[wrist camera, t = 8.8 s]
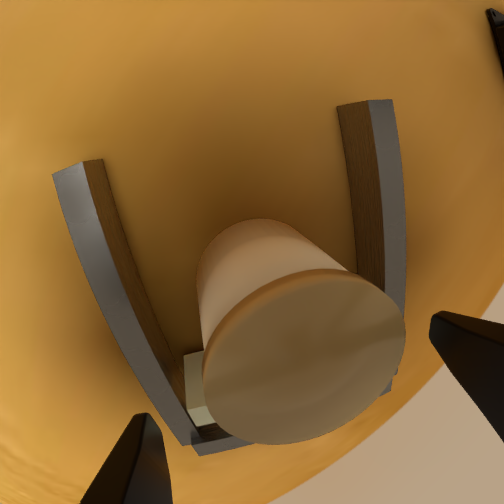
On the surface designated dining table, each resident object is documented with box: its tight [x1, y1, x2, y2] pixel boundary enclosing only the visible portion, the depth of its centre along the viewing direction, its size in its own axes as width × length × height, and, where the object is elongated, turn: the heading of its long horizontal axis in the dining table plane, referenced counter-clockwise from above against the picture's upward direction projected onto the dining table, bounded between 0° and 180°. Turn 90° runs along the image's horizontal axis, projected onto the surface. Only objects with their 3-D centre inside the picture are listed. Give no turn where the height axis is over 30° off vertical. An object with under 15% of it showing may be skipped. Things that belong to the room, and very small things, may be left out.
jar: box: [196, 218, 406, 445], centre depth 10 cm, size 6×6×7 cm
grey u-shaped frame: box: [52, 99, 406, 456], centre depth 12 cm, size 12×15×3 cm
